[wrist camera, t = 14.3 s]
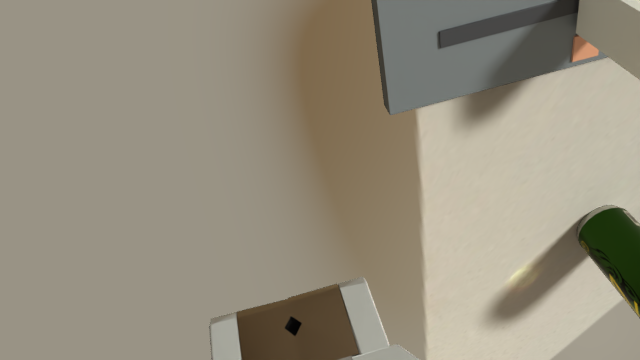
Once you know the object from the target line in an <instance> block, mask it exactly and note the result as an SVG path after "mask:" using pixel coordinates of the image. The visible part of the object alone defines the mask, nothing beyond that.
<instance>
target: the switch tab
mask: <svg viewBox="0 0 640 360" xmlns="http://www.w3.org/2000/svg"><path fill="white" fill-rule="evenodd" d="M576 34H577V35H579V36H580V37H582V38H583V39H584V40H586V41H587V42H588V43H590V44H591V45H593V46H594V47H595V48H597V49H598V50H599V51H601V52H602V53H604V54H605V55H606V56H608V57H609V58H610V59H612V60H613V61H615V62H616V63H617V64H619V65H620V66H621V67H623V68H624V69H626V70H627V71H628V72H630V73H631V74H632V75H634V76H635V77H636V78H638V79H639V80H640V0H579V9H578V18H577V27H576Z"/></svg>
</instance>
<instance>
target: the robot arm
mask: <svg viewBox="0 0 640 360" xmlns="http://www.w3.org/2000/svg"><path fill="white" fill-rule="evenodd" d="M209 329H210V344H211V359H212V360H419V359H418V358H417V357H415V356H414V355H412V354H411V353H409V352H408V351H407V350H405V349H404V348H403V347H401V346H400V345H398V344H396V345H391V346H390V345H389V342H388V339H387V336H386V334H385V331H384V329H383V325H382V323H381V320H380V317H379V315H378V312H377V309H376V306H375V303H374V301H373V298H372V295H371V292H370V290H369V287H368V284H367V282H366V280H365V279H364V277H360V278H357V279H353V280H349V281H345V282H342V283H339V284H334V285H330V286H327V287H323V288H320V289H316V290H313V291H310V292H306V293H303V294H299V295H296V296H292V297H289V298H288V299H285V300H281V301H277V302H273V303H269V304H266V305H261V306H257V307H253V308H249V309H246V310H242V311H238V312H234V313H231V314H227V315H223V316H219V317H216V318H212V319H211V322H210V326H209Z"/></svg>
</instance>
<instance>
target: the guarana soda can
mask: <svg viewBox="0 0 640 360" xmlns="http://www.w3.org/2000/svg"><path fill="white" fill-rule="evenodd" d="M577 236H578V241H579V243H580V245H581V246H582V248H583V249H584V250H585V251H586V252H587V254H588V255H589V256H590V257H591V259H592V260H593V261H594V262H595V264H596V265H597V266H598V267H599V269H600V270H601V271H602V272H603V273H604V275H605V276H606V277H607V278H608V280H609V281H610V282H611V283H612V285H613V286H614V287H615V288H616V290H617V291H618V292H619V293H620V294H621V296H622V297H623V298H624V299H625V301H626V302H627V303H628V304H629V306H630V307H631V308H632V309H633V311H634V312H635V313H636V314H637V315H638V317H639V318H640V224H639V223H638V222H637V221H636V220H635V219H634V218H633V216H632V215H631V214H630V213H629V212H628V211H626V210H625V209H623V208H620V207H617V206H614V205H606V206H603V207H599V208H597V209H595V210H593V211H592V212H590V213H589V214H588V215H586V216H585V217H584V219H583V220H582V221H581V222H580V224H579V226H578V229H577Z"/></svg>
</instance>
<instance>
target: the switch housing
mask: <svg viewBox="0 0 640 360" xmlns="http://www.w3.org/2000/svg"><path fill="white" fill-rule="evenodd" d="M372 9H373V16H374V25H375V33H376V42H377V50H378V58H379V65H380V73H381V82H382V90H383V98H384V105H385V107H386V109H387V110H388V112H389V114H390V115H393V114H396V113H400V112H404V111H408V110H412V109H415V108H419V107H423V106H427V105H430V104H434V103H438V102H442V101H445V100H449V99H453V98H456V97H460V96H464V95H468V94H471V93H475V92H479V91H483V90H486V89H490V88H494V87H498V86H501V85H505V84H509V83H512V82H516V81H520V80H524V79H527V78H531V77H535V76H539V75H542V74H546V73H550V72H554V71H557V70H561V69H565V68H568V67H572V66H576V65H580V64H583V63H587V62H591V61H595V60H598V59H602V58H606V57H608V56H606V55H605V54H604V53H602V52H601V51H599V50H598V49H597V48H595V47H594V46H593V45H591V44H590V43H588V42H587V41H586V40H584V39H583V38H582V37H580V36H579V35H577V34H576V27H577V18H578V9H579V0H372Z"/></svg>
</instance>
